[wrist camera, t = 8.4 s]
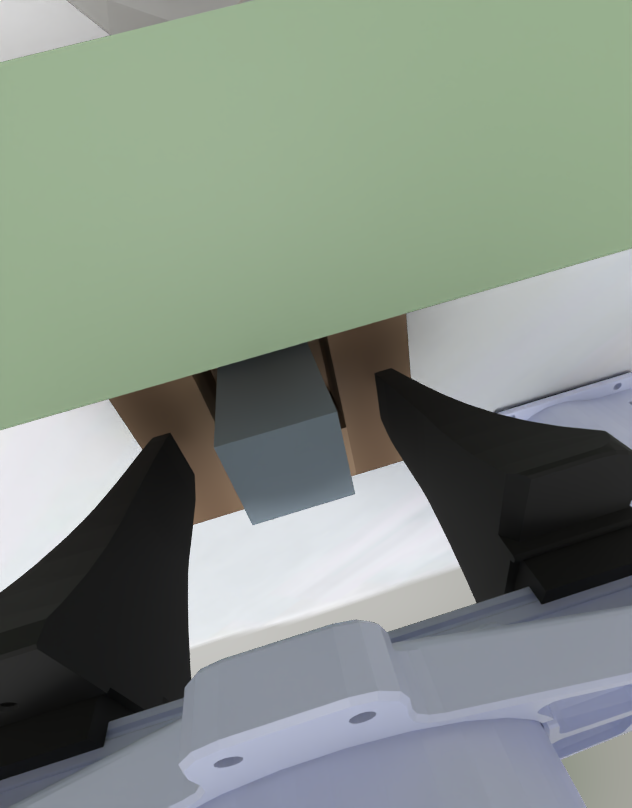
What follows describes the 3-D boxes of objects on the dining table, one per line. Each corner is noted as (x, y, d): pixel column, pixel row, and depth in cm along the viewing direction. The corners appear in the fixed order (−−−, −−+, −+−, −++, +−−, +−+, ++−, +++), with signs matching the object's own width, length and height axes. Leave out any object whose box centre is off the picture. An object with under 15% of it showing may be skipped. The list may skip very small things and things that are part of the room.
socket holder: (442, 51, 13) (836, -143, 4) (444, 392, 21) (582, 540, 13) (-84, 187, 12) (-765, 250, 4) (136, 484, 20) (75, 704, 12)
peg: (297, 320, 16) (337, 411, 10) (314, 386, 18) (355, 493, 12) (218, 342, 16) (213, 447, 10) (244, 406, 18) (252, 524, 12)
